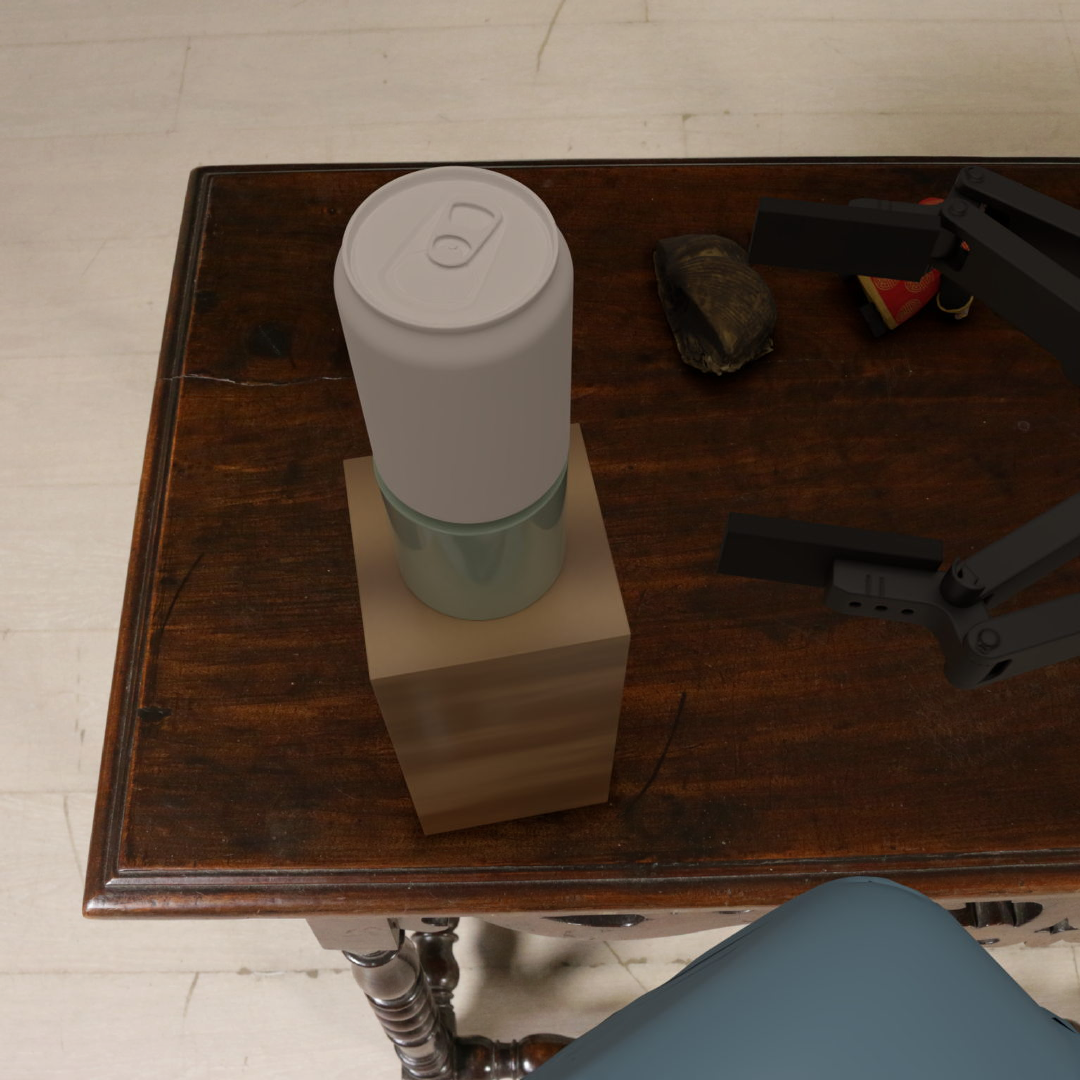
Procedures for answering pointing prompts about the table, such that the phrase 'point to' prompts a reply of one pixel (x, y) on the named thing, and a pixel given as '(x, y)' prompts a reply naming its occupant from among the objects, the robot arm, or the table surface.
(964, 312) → the figurine
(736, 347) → the seashell
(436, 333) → the beverage can
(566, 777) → the plinth
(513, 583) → the mug
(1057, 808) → the table surface
